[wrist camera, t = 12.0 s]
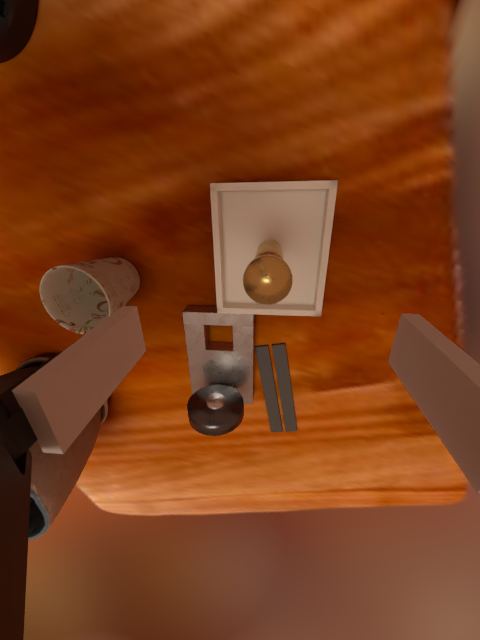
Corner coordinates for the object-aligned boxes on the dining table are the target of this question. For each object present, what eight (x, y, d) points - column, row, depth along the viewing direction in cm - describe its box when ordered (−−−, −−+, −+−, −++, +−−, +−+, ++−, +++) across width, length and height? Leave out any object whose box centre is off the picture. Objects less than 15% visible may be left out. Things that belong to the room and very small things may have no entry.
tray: (214, 184, 32) (209, 183, 30) (333, 181, 30) (338, 180, 28) (220, 306, 39) (217, 313, 36) (318, 309, 37) (320, 316, 35)
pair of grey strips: (255, 346, 41) (255, 347, 41) (285, 343, 40) (285, 344, 40) (271, 430, 48) (271, 432, 48) (297, 429, 47) (297, 431, 47)
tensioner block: (187, 305, 39) (158, 342, 29) (254, 307, 38) (247, 346, 28) (196, 389, 46) (175, 442, 36) (253, 393, 45) (248, 449, 35)
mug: (147, 253, 37) (106, 272, 28) (149, 331, 42) (116, 368, 33) (90, 244, 37) (31, 260, 28) (99, 323, 43) (53, 357, 34)
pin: (253, 235, 33) (242, 256, 22) (287, 235, 33) (294, 256, 21) (253, 268, 35) (243, 304, 23) (285, 268, 35) (291, 305, 23)
